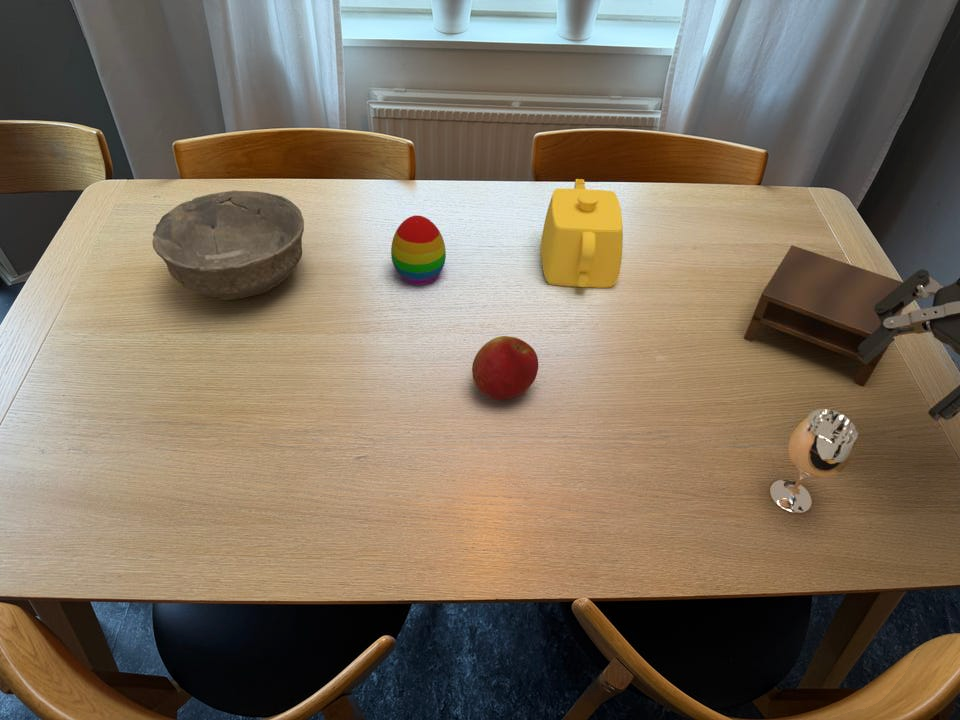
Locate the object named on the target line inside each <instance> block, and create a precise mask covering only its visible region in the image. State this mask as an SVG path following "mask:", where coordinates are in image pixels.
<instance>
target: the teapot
mask: <svg viewBox="0 0 960 720" xmlns="http://www.w3.org/2000/svg"><path fill="white" fill-rule="evenodd" d="M585 183H586V182H585V178H584V179H583V178H575V182H574V187H573V188H562V187H561V188H556V189H554V190H553V192H552V195H551V198H550V201H549V204H548V207H547V211H546V215H545V218H544V222H543V229H542V233H541V239H540V257H541V258H540V260H541V265H542V270H543V275H544V278H545V281H546V283H547V284H549V285H552V286H560V287H576V288H599V289H603V288H604V289H605V288H606V289H607V288H613V287H614V285H616V282H617V281H618V278H619V275H620V273H621V267H622V259H623V247H624V246H623V244H624V241H623V240H624V234H623V226H624V225H623V214H622V209H621V205H620V201H619V198H618V196H617V194H616V192H614V191H613V190H605V189H589V188H586V184H585Z"/></svg>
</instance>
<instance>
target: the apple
mask: <svg viewBox="0 0 960 720" xmlns="http://www.w3.org/2000/svg"><path fill="white" fill-rule="evenodd" d="M538 371H539V358H538V354H537V353H536V350H535V349H534V348H533V347H532V346H531V345H530V344H528V343H527V342H526V341H524V340H522V339H520V338H518V337H515V336H509V335H501V336H497V337H494V338H492V339H490V340H489V341H487V342H486V343H484V344H483V345H482V346H481V348H480V349H479V350H478V351H477V353H476V354H475V356H474V358H473V361H472V366H471V373H472V379H473V381H474V384H475V386H476V387H477V389H478V390H479V391H480V393H482V394H483V395H485V396H487V397H489V398H492V399H494V400H501V401H502V400H508V399H513V398H516V397H518V396H521V395H522V394H523V393H525V392H526V391H528V390H529V388H530V387H531V386H532V385H533V384H534V382H535V380H536V378H537V376H538Z"/></svg>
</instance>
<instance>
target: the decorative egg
mask: <svg viewBox="0 0 960 720" xmlns="http://www.w3.org/2000/svg"><path fill="white" fill-rule="evenodd" d="M445 244H446V243H445V241H444V237H443V235H442V233H441V231H440V230H439V228H438V227H437V225H436V224H435V223H434V222H433V221H432V220H430V219H429V218H428V217H425V216H422V215H411V216H409V217H408V218H406V219H404V220H403V221H402V222H401V224H399V225H398V227H397V228H396V231H395V233H394V235H393V238H392V240H391V247H390V255H391V256H390V257H391V262H392V265H393V268H394V269H395V271H396V273H397V274H398V276H399V277H400V278H401V279H403V281H406V282H407V283H409V284H413V285H426V284H429V283H431V282H433V281H434V280H436V279H437V278H438V276H440V274H441V273H442V271H443V269H444V266H445V263H446V259H447V256H446V255H447V252H446V245H445Z"/></svg>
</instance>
